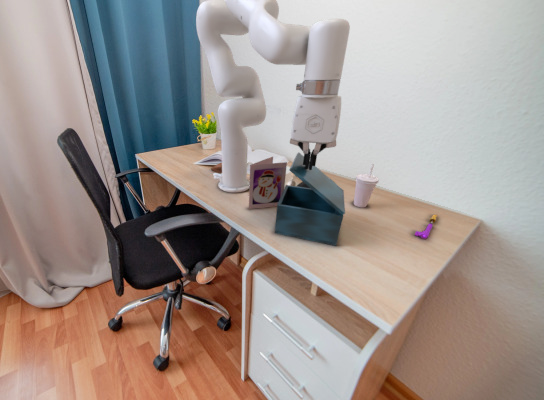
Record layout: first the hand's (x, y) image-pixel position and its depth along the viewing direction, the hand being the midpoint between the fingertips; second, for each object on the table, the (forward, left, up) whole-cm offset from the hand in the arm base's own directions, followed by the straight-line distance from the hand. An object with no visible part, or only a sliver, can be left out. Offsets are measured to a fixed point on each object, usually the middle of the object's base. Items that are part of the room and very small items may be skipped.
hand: (308, 168), depth 61 cm
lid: (+3, 0, -4) cm, 4 cm away
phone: (+2, +30, -17) cm, 35 cm away
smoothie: (+17, +19, -18) cm, 31 cm away
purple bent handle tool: (+33, +12, -18) cm, 39 cm away
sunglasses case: (-37, +39, -18) cm, 57 cm away
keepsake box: (+2, 0, -17) cm, 17 cm away
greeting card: (-13, +9, -18) cm, 24 cm away
